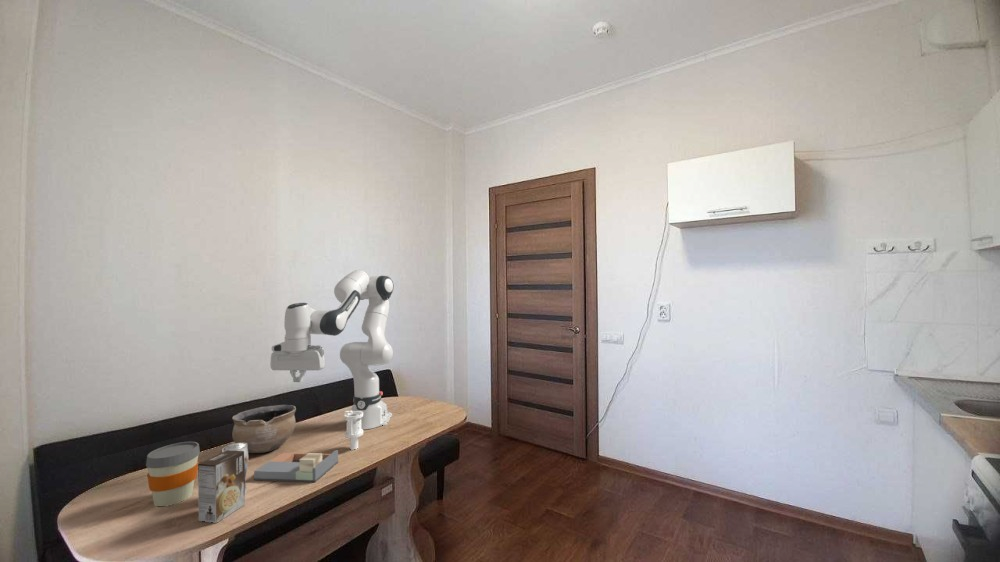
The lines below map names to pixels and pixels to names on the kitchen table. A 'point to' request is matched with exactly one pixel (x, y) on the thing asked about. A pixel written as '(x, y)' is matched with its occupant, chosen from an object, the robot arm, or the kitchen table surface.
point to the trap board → (294, 468)
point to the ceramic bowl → (264, 427)
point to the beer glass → (240, 448)
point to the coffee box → (221, 485)
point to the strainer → (353, 427)
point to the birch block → (310, 461)
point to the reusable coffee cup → (172, 472)
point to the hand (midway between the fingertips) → (298, 381)
